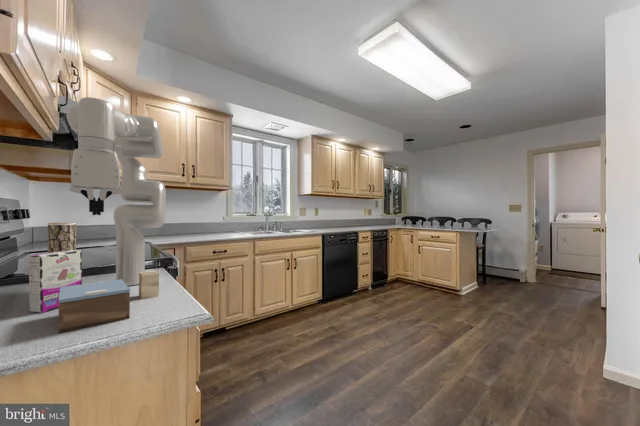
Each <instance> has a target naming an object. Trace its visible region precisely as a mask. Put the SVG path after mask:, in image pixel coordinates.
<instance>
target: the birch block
mask: <svg viewBox="0 0 640 426" xmlns="http://www.w3.org/2000/svg"><path fill="white" fill-rule="evenodd" d="M159 292H160V272H159V271H157V270H150V271H145V272H140V273H139V284H138V297H139V298H140V299H141V300H146V299H150V298H151V299H152V298H156V297H157V298H158V297H159V296H160V293H159Z"/></svg>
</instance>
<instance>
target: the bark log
mask: <svg viewBox="0 0 640 426" xmlns="http://www.w3.org/2000/svg"><path fill="white" fill-rule="evenodd" d="M68 250H77V222H48V223H47V253H53V252H60V251H68Z"/></svg>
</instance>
